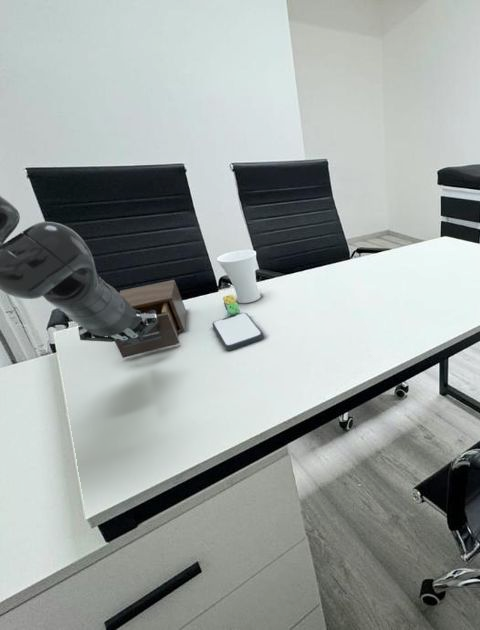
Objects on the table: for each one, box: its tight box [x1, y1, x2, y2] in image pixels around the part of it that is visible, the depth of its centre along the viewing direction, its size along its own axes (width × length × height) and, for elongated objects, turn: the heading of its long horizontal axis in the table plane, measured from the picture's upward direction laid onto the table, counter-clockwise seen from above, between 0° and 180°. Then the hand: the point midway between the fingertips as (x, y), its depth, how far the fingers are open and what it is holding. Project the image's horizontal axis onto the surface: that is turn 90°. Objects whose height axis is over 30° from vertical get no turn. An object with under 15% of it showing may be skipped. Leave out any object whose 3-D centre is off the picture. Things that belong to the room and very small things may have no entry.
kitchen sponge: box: [222, 294, 241, 317], centre depth 103 cm, size 8×3×6 cm, turn 34°
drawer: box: [114, 301, 181, 359], centre depth 91 cm, size 18×11×8 cm, turn 27°
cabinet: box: [118, 279, 187, 334], centre depth 100 cm, size 15×13×10 cm
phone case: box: [211, 312, 264, 351], centre depth 96 cm, size 9×2×16 cm
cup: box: [216, 249, 262, 304], centre depth 112 cm, size 10×10×14 cm
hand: (136, 339), depth 81 cm, fingers closed
